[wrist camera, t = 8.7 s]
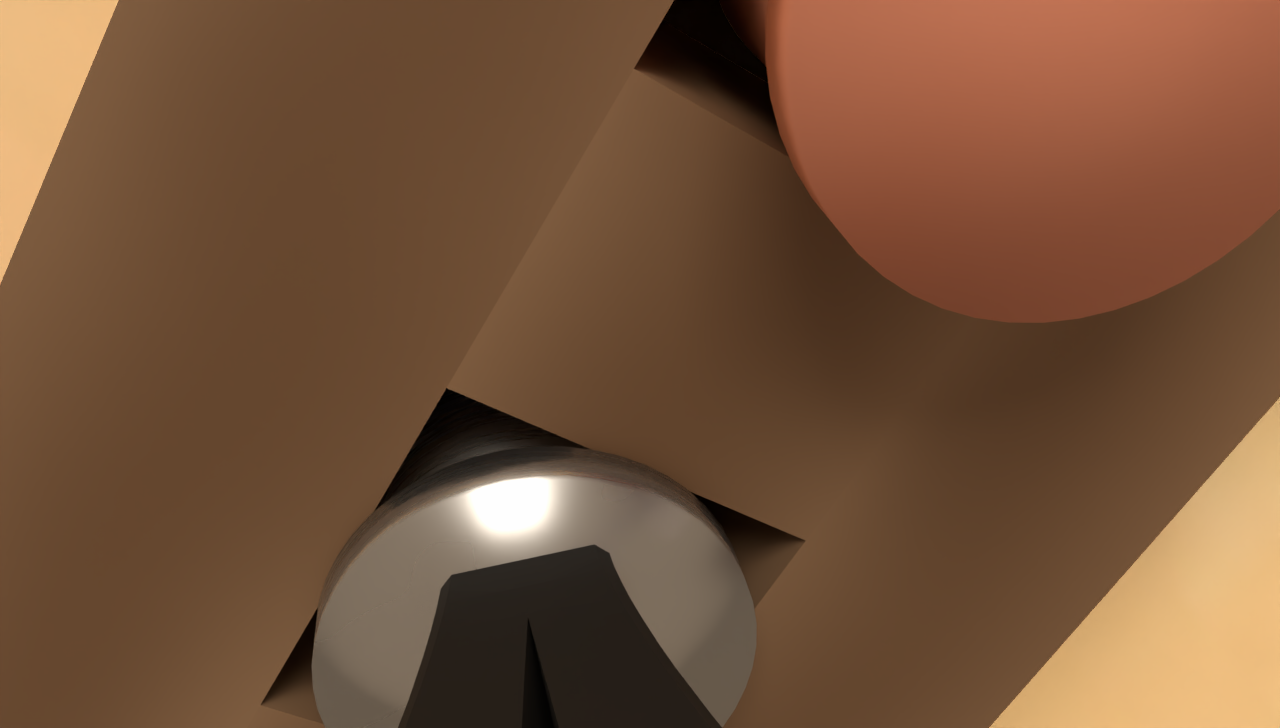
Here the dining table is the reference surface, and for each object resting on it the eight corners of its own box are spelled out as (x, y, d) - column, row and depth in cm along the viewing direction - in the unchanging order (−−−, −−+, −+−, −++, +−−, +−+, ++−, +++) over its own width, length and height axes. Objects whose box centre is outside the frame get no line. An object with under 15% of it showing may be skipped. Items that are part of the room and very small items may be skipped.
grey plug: (733, 358, 14) (840, 576, 10) (569, 599, 15) (616, 864, 12) (433, 214, 13) (442, 409, 9) (280, 492, 14) (237, 758, 10)
